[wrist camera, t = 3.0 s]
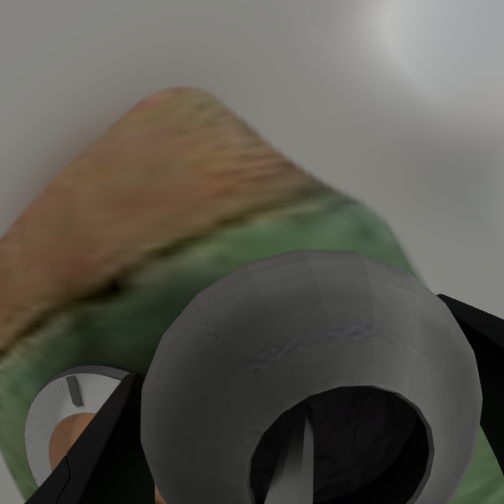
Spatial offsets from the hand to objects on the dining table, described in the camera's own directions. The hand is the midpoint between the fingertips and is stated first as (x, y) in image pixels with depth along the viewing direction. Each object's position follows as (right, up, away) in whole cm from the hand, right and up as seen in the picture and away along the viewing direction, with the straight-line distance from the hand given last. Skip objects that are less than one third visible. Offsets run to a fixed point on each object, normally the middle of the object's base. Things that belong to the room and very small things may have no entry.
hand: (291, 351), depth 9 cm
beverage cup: (+1, -4, +9) cm, 10 cm away
